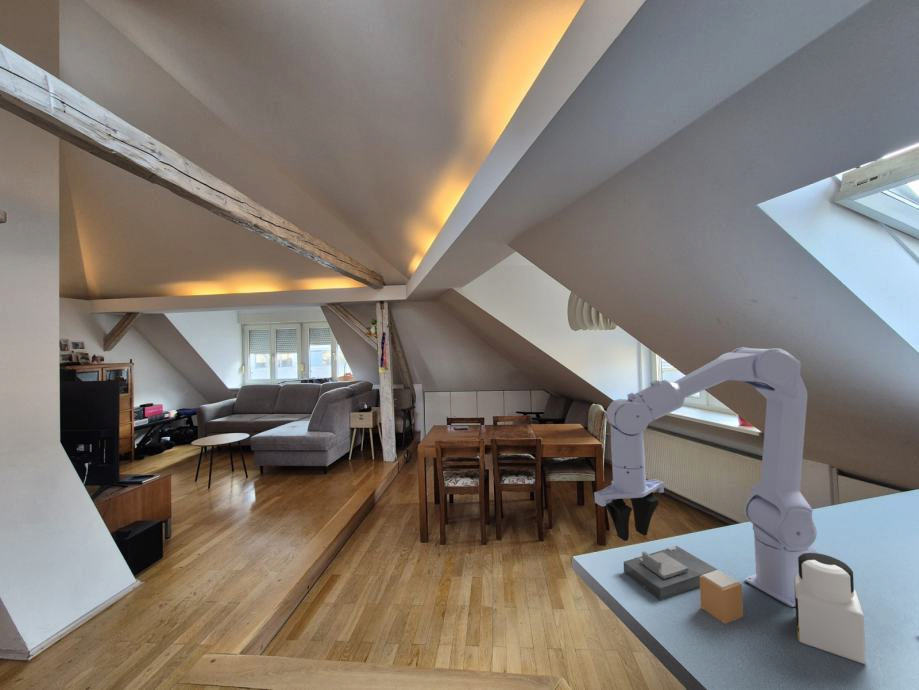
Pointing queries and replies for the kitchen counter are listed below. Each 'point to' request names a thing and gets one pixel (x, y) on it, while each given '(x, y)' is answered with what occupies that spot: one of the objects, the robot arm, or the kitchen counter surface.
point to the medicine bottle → (829, 607)
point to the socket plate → (672, 584)
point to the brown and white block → (721, 596)
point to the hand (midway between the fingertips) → (632, 535)
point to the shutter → (662, 564)
